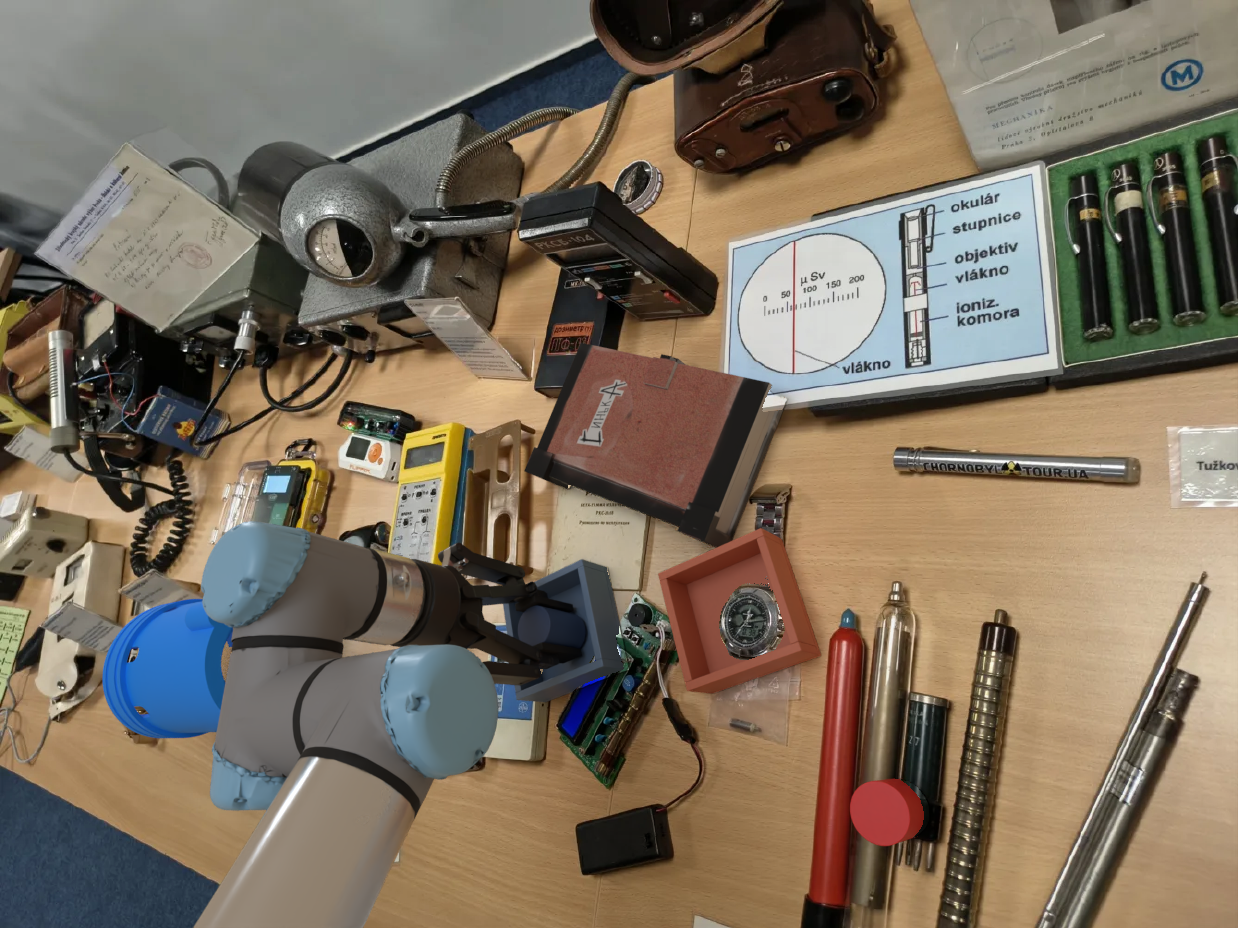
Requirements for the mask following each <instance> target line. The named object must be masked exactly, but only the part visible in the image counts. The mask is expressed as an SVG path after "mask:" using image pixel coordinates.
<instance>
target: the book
mask: <svg viewBox="0 0 1238 928" xmlns="http://www.w3.org/2000/svg"><path fill="white" fill-rule="evenodd" d="M771 386H772V387H773V384H772V383H771V382H769V381H764V380H760V379H759V380H758V379H755V378H750V377H745V376H740V375H735V374H731V373H726V372H721V371H716V370H711V369H706V368H703V367H698V366H694V365H688V364H686V363H684V362H683V361H682V360H681V359H680V358H677V357H673V356H671V355H668V354H663V353H661V354H660V357H656V356H653V357H650V356H645V355H641V354H636V353H631V352H627V351H621V350H618V349H613V348H609V347H608V348H607V347H602V346H598V345H593V344H589V343H584V342H580V343H579V345H578V348H577V351H576V353H575V356H574V357H573V360H572V362H571V365H570V368H569V370H568V372H567V375H566V378H565V380H564V381H563V385H562V387H561V389H560V391H559V394H558V396H557V399H556V400H555V401H556V402H555V404H554V406H553V408H552V411H551V413H550V415H549V417H548V421H547V422H546V425H545V428H544V430H543V432H542V435H541V437H540V440H539V441H538V444H537V447H536V446H534V447H533V448H532V451H531V453H530V456H529V459H528V461H527V463H526V466H525V468H524V472H525V473H527V474H530V475H532V476H535V477H537V478H538V479H541V480H544V481H546V482H548V483H550V484H554V485H555V486H558V487H561V488H563V489H566V490H568V489H567V488H568V485H571V487H573V486H574V488H576V489H579V490H581V489H582V490H581V491H584V492H586V491H587V492H586V493H589V494H592V495H594V496H597V497H599V496H600V498H602V499H605V500H607V499H608V501H610V502H612V501H613V502H612V503H615V504H617V505H621V506H623V507H625V506H626V508H628V509H631V510H634V511H636V512H638V511H639V513H640V514H641V513H642V514H644V515H645V516H649V517H651V518H654V519H657V520H659V521H661V522H665V523H668V524H670V525H672V526H674V527H678V529H677V532H679V533H681V534H683V535H686V536H688V537H690V538H691V539H694V540H697V541H699V542H702V543H705V544H707V545H709V546H712V547H714V548H717V547H719V546H722V545H724V544H726V543H728V542H731V541H733V540H734V538H735V534H736V533H737V530H738V528H739V524H740V522H741V519H742V517H743V514H744V512H745V509H746V507H747V504H748V502H749V499H750V496H751V494H752V491H753V489H754V486H755V484H756V481H757V478H758V476H759V474H760V471H761V468H762V466H763V463H764V462H765V461H764V460H765V458H766V456H767V454H768V453H767V452H768V451H769V449H770V445H771V443H772V440H773V438H774V435H775V432H776V430H777V428H778V425H779V422H780V420H781V417H782V414H783V412H784V410H778V411H768V412H763V411H762V410H763V408H762V407H763V404H764V402H765V398H766V397H767V394H768V392H769V390H770V389H771V390H772V387H771ZM771 390H770V391H771Z"/></svg>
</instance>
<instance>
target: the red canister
mask: <svg viewBox="0 0 1238 928" xmlns="http://www.w3.org/2000/svg"><path fill="white" fill-rule="evenodd" d="M900 779H901V778H899V779H895V778H887V779H879V780H871V781H870V780H869V781H867V782H865V783H862V784H861V785H859V786H858V787H857V788H856V789H855V790H854V792H853V794H852V795H851V799H850V804H849V812H850V818H851V822H852V823H853V824H852V825H853V826H854V828H855V829H856V831H857V832H858V834H859V835H860V836H861V837H862V838H863V839H865V840H866V841H868V842H869V843H871V844H873V845H875V846H881V847H890V846H894V845H896V844H900V843H902V842H905V841H908V840H911V839H914V838H915V837H914V836H915V835H916V834H917V833H918V832H919V830H920V829H921V827H922V825H923V820H924V811H923V806H922V804H921V800H920V798H919V797H918V796H917V794H916V793H915V792H914V791H913V790H912V789H911V788H910V786H908V785H907V784H906V783H904V782H903V781H901V780H900ZM913 837H914V838H913Z"/></svg>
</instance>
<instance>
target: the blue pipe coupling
mask: <svg viewBox="0 0 1238 928" xmlns="http://www.w3.org/2000/svg"><path fill="white" fill-rule="evenodd" d="M202 600H203V598H187V599H183V600H182V599H181V600H178V601H173V602H168V603H163V604H159V605H155V606H153V607H151V608H148V609H147V610H144V611H142V612H141V613H139V614H137V615H135V617H134V618H132V619H131V620H130V621H129V622H127V623H126V624H125V625H124V626H123V627H122V628H121V630H120V631H119V632H118V633H117V635H116V636H115V637H114V639H113V641H112V642H111V644H110V646H109V648H108V650H107V654H106V656H105V659H104V662H103V668H102V680H101V681H102V689H103V695H104V698H105V701H106V703H107V706H108V707H109V710H110V711H111V713H112V714H113V716H114V717H115V718H116V719H117V720H118V721H119V722H120V724H122V725H123V726H124V727H125V728H127V729H128V730H130V731H132V732H133V733H136V734H138V735H140V736H144V737H148V738H152V739H153V738H154V739H190V738H195V737H200V736H202V735H205V734H208V733H217V727H218V722H219V716H220V710H221V705H222V699H223V694H224V688H225V682H226V679H225V678H224V674H223V669H222V658H223V652H224V649H225V645H226V643H227V646H228V648H232V644H233V643H232V642H231V640H232V633H233V627H228V626H227V625H225V624H224V623H219V622H216V621H214V620H213V619H211V618H210V617H209V616H208V615H207V613H206V612H205V610H204V608H203V604H202ZM134 649H135V650H136V649H137V650H138V652H137V655H136V657H135V659H134V660H133V661H129V662H128V660H129V659H128V658H129V656H130V653H131V650H134ZM136 707H141V708H143V709H144V710H145V711H146V713H144V714H143V713H142V714H140V713H139V711H138V710H137V709H136Z"/></svg>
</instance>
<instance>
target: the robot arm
mask: <svg viewBox="0 0 1238 928" xmlns="http://www.w3.org/2000/svg"><path fill="white" fill-rule="evenodd" d="M210 551H211V552H210V553H209V556H208V558H207V560H206V563H205V565H204V569H203V572H202V576H201V582H200V589H201V592H202V593H203V597H202V599H203V600H202V604H203V608H204V610H205V612H206V613H207V615H208V616H209V617H210V618H211V619H213V620H214V621H216V622H219V623H224V624H225V625H227V626H228V627H233V633H232V640H231V642H232V643H233V644H232V647H231V649H230V655H229V660H228V661H229V662H228V666H227V672H226V677H225V688H224V694H223V699H222V705H221V710H220V716H219V722H218V727H217V732H215V733H216V734H215V738H214V742H213V744H212V747H211V752H212V764H211V765H212V766H211V778H210V787H209V797H210V801H211V802H212V804H213V806H215V807H216V808H217V809H219V810H221V811H222V810H223V811H233V812H234V811H236V812H238V811H265V812H264V814H263V815H262V817H261V818H260V819H259V821H258V823H257V825H256V827H255V828H254V829H253V831H252V833H251V834H250V836H249V837H248V839H247V841H246V842H245V844H244V845H243V846H242V849H241V850H240V852H239V853H238V855H237V857H236V858H235V860H234V862H233V863H232V864H231V866H230V868H229V869H228V871H227V873H226V874H225V876H224V877H223V879H222V881H221V882H220V883H219V885H218V887H217V889H216V890H215V892H214V894H213V895H212V896H211V898H210V899H209V901H208V903H207V905H206V906H205V908H204V909H203V911H202V913H201V914H200V916H199V917H198V919H197V921H196V922H195V923H194V925H193V926H192V928H364V927H365V925H366V923H367V921H368V918H369V916H370V914H371V912H372V911H373V908H374V906H375V904H376V902H377V900H378V898H379V896H380V894H381V891H382V889H383V887H384V884H385V883H386V880H387V878H388V877H389V875H390V872H391V870H392V868H393V866H394V864H395V861H396V859H397V857H398V855H399V853H400V851H401V849H402V846H403V844H404V843H405V840H406V838H407V837H408V834H409V832H410V830H411V828H412V825H413V823H414V822H415V819H416V818H417V815H418V813H419V811H420V809H421V807H422V805H423V804H424V801H425V800H426V797H427V796H428V793H429V791H430V789H431V787H432V784H433V783H434V781H435V780H439V781H442V780H446V779H448V777H449V776H456V775H460V774H463V773H465V772H467V771H468V770H469V769H471V768H472V767H473V766H474V765H476V764H477V763H478V762H479V760H480V759H482V758H484V756H485V755H486V753H487V752H488V751H489V749H490V747H491V746H492V743H493V741H494V737H495V734H496V732H497V728H498V727H497V726H498V719H499V698H498V692H497V687H496V685H508V686H509V685H510V686H514V685H523V684H525V683H528V682H530V681H533V680H535V679H538V678H540V677H541V671H540V669H548V668H551V667H553V666H556V665H558V664H559V663H561V664H563V663H566V662H568V661H571V660H573V659H576V658H578V657H580V656H582V652H581V649H579V648H573V647H567V646H561V645H556V644H550V643H544V642H541V643H539V644H536V645H534V646H531V645H529V644H527V643H525V642H522V641H520V640H518V639H516V638H514V637H512V636H510V635H508V634H507V632H506V633H505V632H504V631H501V630H499V629H497V625H496V624H494V623H492V622H490V621H488V620H485V616H484V614H483V607H485V606H495V605H503V604H508V603H514V602H518V603H516V604H515V607H516V611H520V612H525V611H526V610H527V609H528V608H530V607H532V606H542V607H546V608H551V609H555V610H560V611H564V612H568V613H570V612H572V611H574V608H573V604H570V603H565V602H561V601H557V600H553V599H549V598H548V595H547V593H546V592H545V591H542V590H538V589H537V585H536V584H535V583H534V582H535V581H533V580H532V581H530V582H527V583H526V582H525V579H524V578H525V576H526V572H525V569H524V568H523V567H522V566H519V565H516V564H513V563H509V562H506V561H503V560H500V559H497V558H493V557H489V556H486V555H484V554H481V553H477V552H474V551H473V550H471V549H470V548H468V547H467V546H465V545H464V544H463V543H461V542H456V543H454V544H452V545H450V546H448V547H446V548H445V549H443V550H440V552H438V554H437V557H438V559H437V560H438V561H439V562H440V563H441V564H436V563H433V562H428V561H425V560H420V559H417V558H410V557H407V556H403V555H400V554H395V553H391V552H386V551H384V550H379V549H376V548H372V547H368V546H367V547H366V546H362V545H358V544H355V543H351V542H347V541H344V540H340V539H337V538H333V537H329V536H326V535H323V534H319V533H315V532H312V531H309V530H308V529H305V528H302V527H298V526H297V527H293V526H288V525H281V524H276V523H271V522H263V521H259V520H258V521H256V520H250V521H243V522H241V523H239V524H236V525H234V526H233V527H231V528H230V529H228V530H226V531H225V532H224V534H223V535H222V536H220V538H219V539H218V541H217V542H216V543H215V545H214V546H213V548H212V550H210ZM463 575H464V576H463ZM465 576H467V577H471V578H475V579H478V580H482V581H486V582H490V583H493V584H497V585H489V584H474V585H473V584H472V583H470V582H469V580H468V579H466V578H465ZM344 640H346V641H352V642H358V643H360V642H361V643H366V644H373V645H380V646H391V647H396V648H393V649H388V650H382V651H376V652H375V651H374V652H370V653H364V654H356V655H350V656H348V655H347V656H343V654H344V643H343V642H344ZM471 650H479V651H481V652H483V653H485V654H488V655H490V656H492V657H494V658H497V659H500V660H501V661H494V660H485V661H482V660H481V658H479V656H477V655H476V654H475V653H474V652H473V651H471ZM502 661H503V662H502Z"/></svg>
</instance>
